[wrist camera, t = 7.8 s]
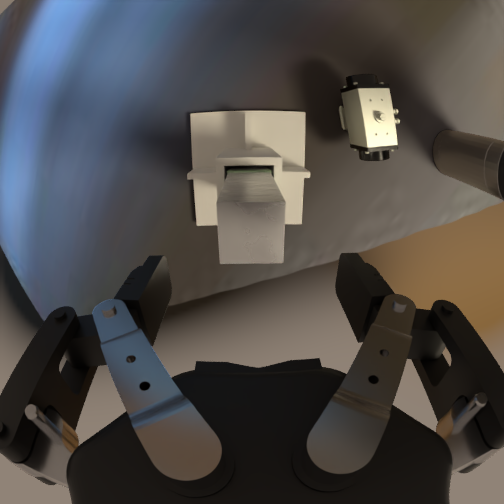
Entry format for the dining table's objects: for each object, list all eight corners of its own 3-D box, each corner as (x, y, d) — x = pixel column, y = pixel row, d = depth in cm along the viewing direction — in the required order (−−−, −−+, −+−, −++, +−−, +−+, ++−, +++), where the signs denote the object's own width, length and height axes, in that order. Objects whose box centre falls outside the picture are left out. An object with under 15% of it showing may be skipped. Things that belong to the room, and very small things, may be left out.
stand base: (303, 112, 37) (335, 105, 23) (299, 220, 45) (324, 268, 31) (192, 114, 37) (161, 107, 22) (198, 222, 45) (176, 270, 30)
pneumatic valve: (341, 153, 40) (372, 164, 29) (328, 84, 35) (357, 71, 24) (371, 150, 40) (408, 160, 29) (359, 83, 35) (396, 72, 24)
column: (265, 160, 33) (287, 200, 15) (265, 192, 35) (284, 265, 17) (232, 160, 33) (214, 201, 15) (232, 193, 35) (218, 266, 17)
